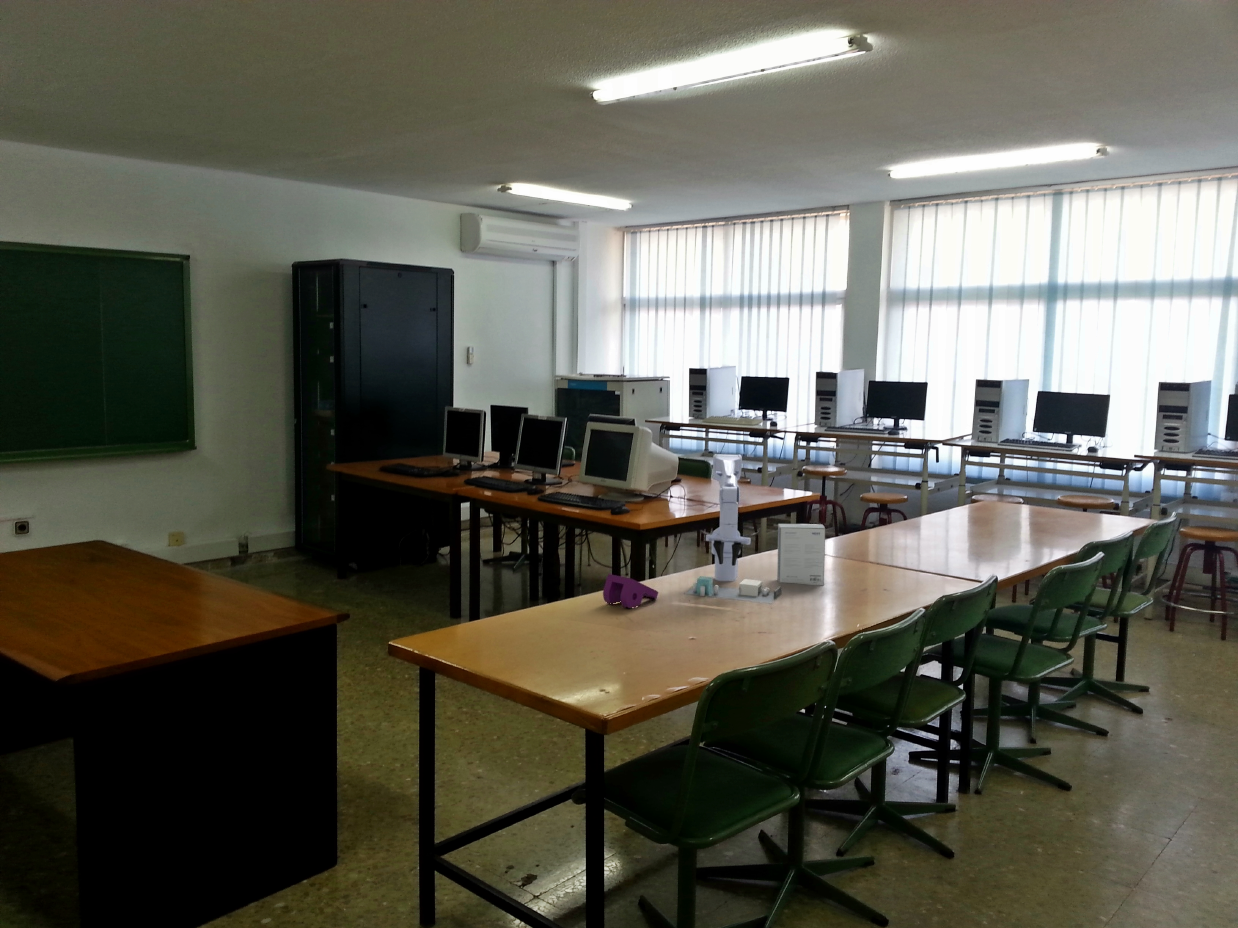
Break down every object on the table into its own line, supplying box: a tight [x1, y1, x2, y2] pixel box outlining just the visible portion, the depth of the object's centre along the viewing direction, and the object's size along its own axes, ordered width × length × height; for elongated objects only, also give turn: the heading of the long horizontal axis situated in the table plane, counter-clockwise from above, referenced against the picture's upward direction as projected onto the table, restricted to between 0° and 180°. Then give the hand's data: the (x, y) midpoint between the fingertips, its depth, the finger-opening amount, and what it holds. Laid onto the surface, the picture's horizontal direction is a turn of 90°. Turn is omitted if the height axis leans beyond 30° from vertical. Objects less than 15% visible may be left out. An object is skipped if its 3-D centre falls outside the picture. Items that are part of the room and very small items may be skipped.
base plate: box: [684, 582, 782, 605], centre depth 301 cm, size 15×28×4 cm, turn 68°
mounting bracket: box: [602, 573, 659, 609], centre depth 291 cm, size 9×8×18 cm
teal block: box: [696, 575, 714, 595], centre depth 301 cm, size 4×4×5 cm
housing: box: [738, 578, 764, 596], centre depth 302 cm, size 7×6×4 cm
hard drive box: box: [776, 523, 826, 586], centre depth 320 cm, size 16×8×20 cm, turn 84°
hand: (727, 564), depth 304 cm, fingers open, 4 cm apart
